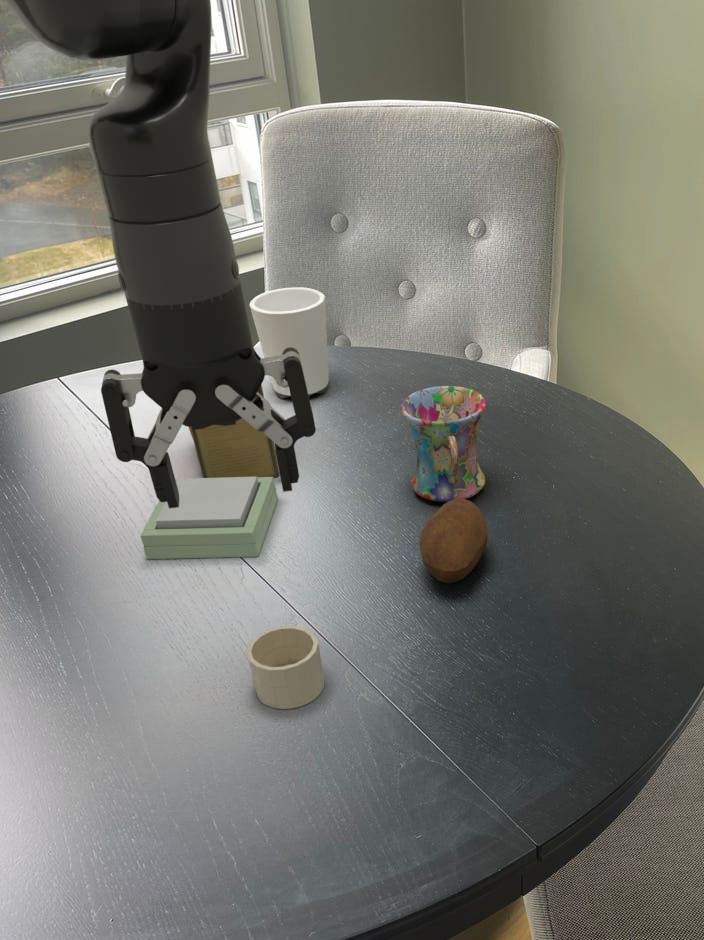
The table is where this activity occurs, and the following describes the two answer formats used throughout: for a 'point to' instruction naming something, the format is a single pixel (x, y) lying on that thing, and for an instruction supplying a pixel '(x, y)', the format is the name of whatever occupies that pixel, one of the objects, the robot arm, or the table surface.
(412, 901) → the table surface
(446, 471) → the mug
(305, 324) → the cup
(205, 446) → the food packaging
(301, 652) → the beige round pot
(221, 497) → the pan
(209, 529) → the scale
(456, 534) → the potato
